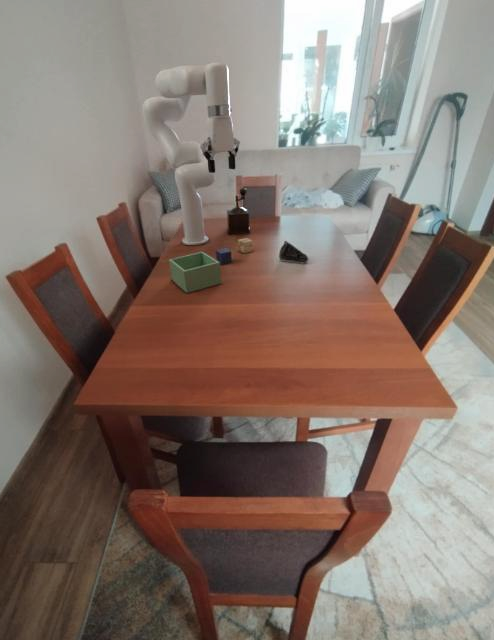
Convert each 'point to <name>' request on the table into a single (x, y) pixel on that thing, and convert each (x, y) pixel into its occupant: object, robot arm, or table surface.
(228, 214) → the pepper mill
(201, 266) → the bin
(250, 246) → the birch block
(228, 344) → the table surface
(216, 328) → the table surface
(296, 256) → the chocolate cake
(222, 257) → the navy block
